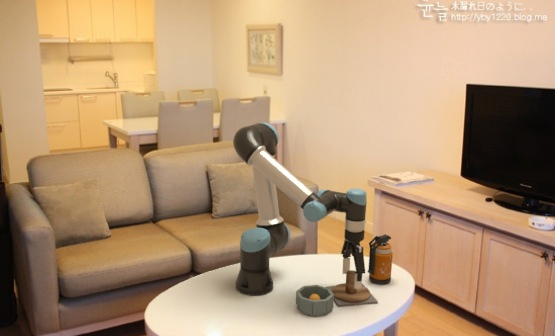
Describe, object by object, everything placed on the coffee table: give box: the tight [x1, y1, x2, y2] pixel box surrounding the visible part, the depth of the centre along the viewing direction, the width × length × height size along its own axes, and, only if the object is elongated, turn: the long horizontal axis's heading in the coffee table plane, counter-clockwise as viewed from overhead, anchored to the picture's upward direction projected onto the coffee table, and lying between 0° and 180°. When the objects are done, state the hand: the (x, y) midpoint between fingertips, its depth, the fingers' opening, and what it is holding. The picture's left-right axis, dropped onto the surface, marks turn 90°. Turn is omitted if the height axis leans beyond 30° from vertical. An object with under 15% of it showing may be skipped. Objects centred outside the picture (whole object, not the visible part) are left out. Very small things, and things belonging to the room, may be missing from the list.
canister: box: [367, 234, 394, 285], centre depth 233 cm, size 9×11×20 cm
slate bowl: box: [295, 284, 335, 317], centre depth 211 cm, size 13×13×6 cm
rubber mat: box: [325, 283, 379, 308], centre depth 221 cm, size 16×16×1 cm
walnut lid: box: [332, 270, 371, 303], centre depth 220 cm, size 15×15×9 cm
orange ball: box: [309, 294, 321, 300], centre depth 210 cm, size 4×4×4 cm
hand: (351, 280), depth 220 cm, fingers open, 13 cm apart
